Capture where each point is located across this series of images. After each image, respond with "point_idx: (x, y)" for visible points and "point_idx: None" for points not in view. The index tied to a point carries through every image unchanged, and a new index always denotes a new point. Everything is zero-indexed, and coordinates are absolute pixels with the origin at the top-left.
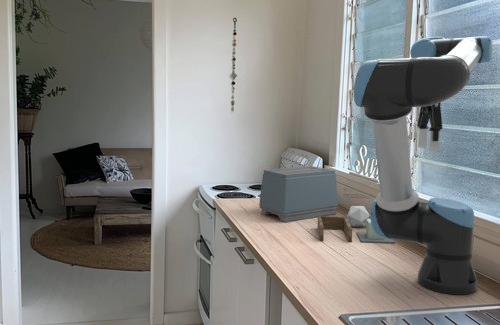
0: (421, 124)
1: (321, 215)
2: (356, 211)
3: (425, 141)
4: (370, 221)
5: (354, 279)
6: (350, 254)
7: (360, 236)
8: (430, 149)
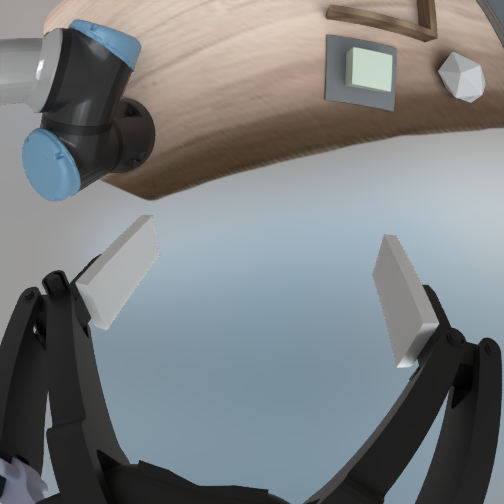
0: (422, 368)
1: (502, 42)
2: (456, 65)
3: (382, 293)
4: (365, 54)
5: (124, 21)
6: (239, 6)
7: (360, 42)
8: (137, 221)
